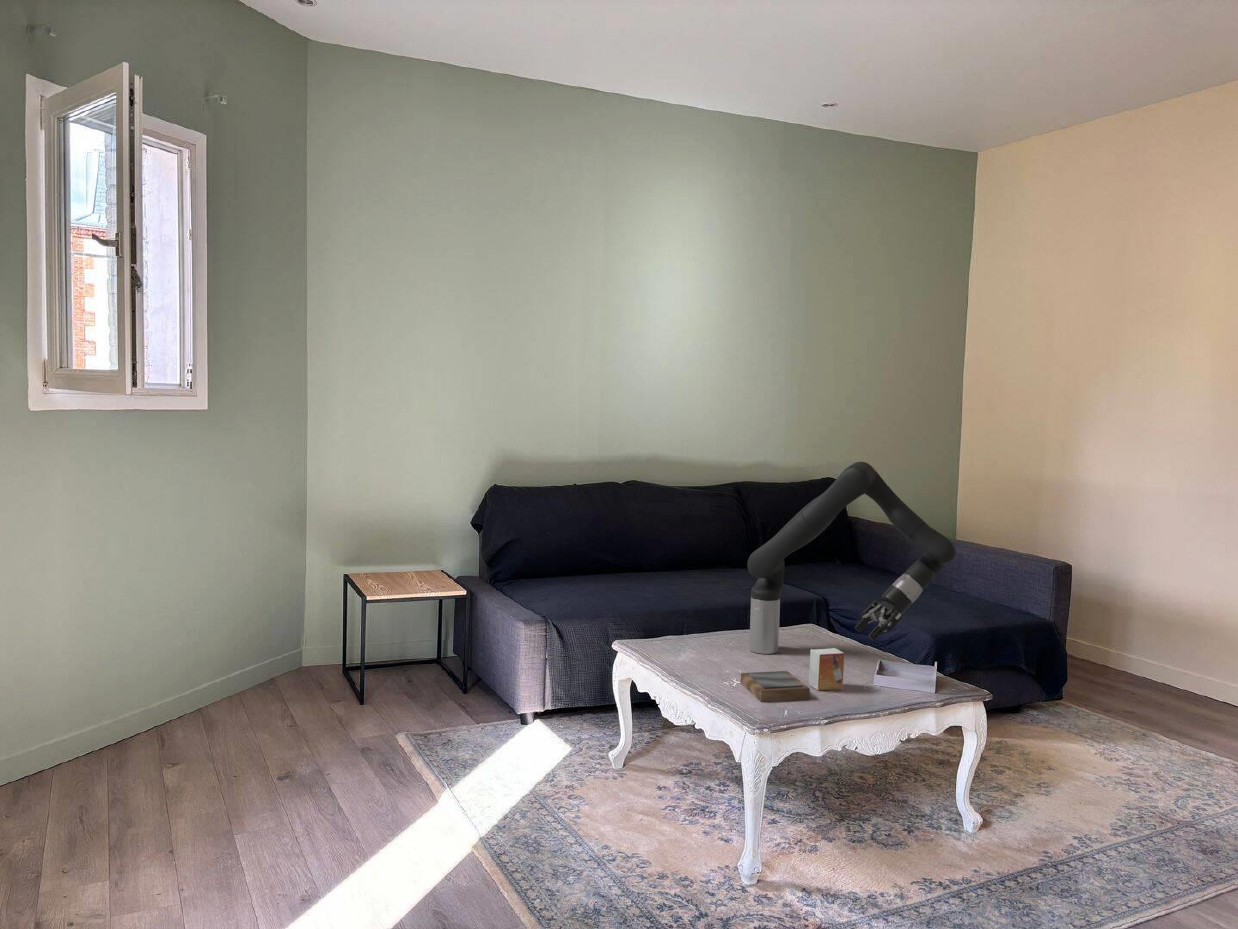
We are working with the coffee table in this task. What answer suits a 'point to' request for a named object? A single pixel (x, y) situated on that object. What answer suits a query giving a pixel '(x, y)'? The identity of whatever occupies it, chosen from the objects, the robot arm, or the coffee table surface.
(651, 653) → the coffee table surface
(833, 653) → the small box
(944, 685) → the coffee table surface
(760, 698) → the plinth
